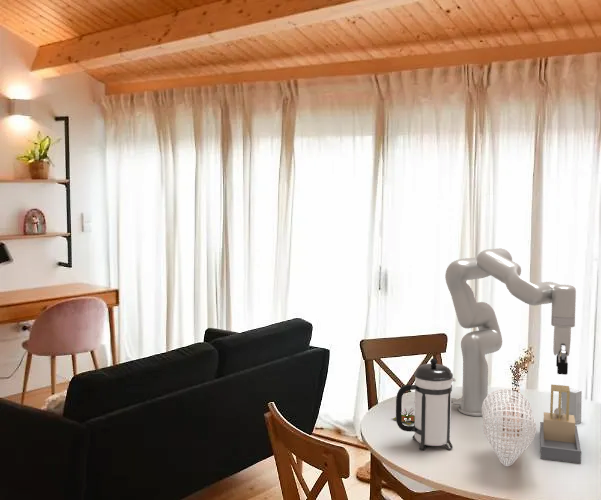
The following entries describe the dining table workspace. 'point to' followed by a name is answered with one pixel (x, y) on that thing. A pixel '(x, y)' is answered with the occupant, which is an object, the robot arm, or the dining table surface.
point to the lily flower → (407, 417)
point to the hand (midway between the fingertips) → (561, 370)
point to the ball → (558, 412)
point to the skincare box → (573, 403)
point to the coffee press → (429, 405)
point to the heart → (530, 426)
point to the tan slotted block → (560, 389)
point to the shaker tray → (560, 449)
